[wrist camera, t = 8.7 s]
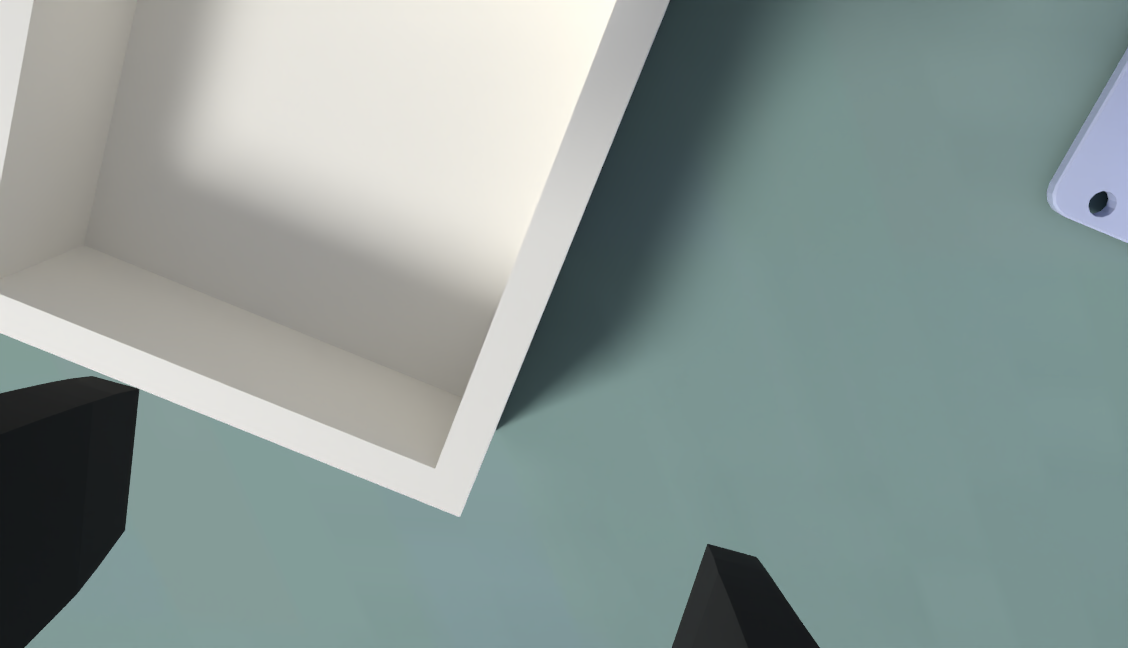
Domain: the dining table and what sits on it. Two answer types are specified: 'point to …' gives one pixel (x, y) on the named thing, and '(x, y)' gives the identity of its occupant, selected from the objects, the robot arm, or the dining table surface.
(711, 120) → the dining table surface
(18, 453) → the robot arm
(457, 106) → the box
